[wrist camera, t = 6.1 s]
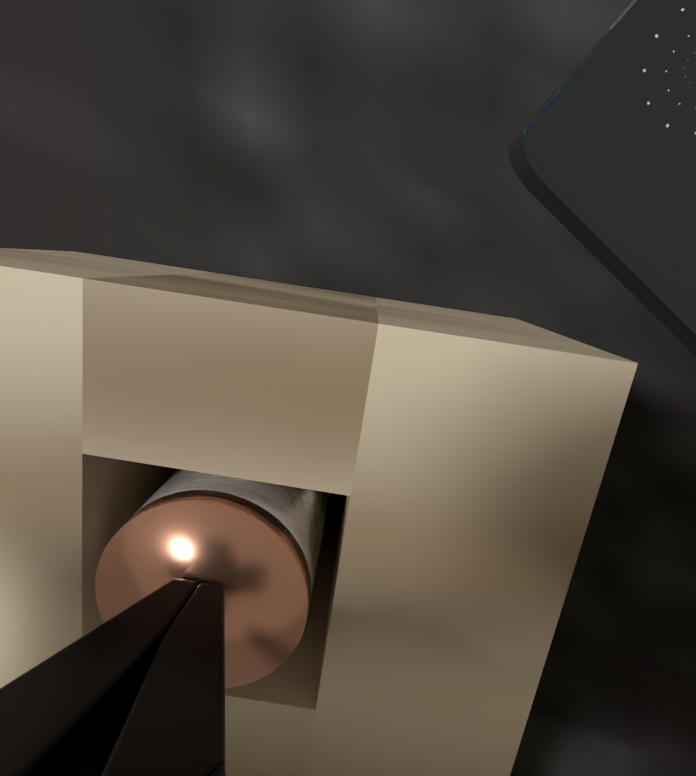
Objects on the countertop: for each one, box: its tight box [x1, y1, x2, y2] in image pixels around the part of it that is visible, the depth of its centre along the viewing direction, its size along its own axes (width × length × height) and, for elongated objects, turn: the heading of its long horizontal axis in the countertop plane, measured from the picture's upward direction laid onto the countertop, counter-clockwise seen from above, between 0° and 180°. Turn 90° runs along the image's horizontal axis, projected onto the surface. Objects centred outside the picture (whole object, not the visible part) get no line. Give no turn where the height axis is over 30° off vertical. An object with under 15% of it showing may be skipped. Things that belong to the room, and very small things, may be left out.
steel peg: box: [95, 469, 330, 688], centre depth 11 cm, size 4×4×6 cm
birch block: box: [0, 248, 638, 776], centre depth 12 cm, size 20×12×6 cm, turn 172°
